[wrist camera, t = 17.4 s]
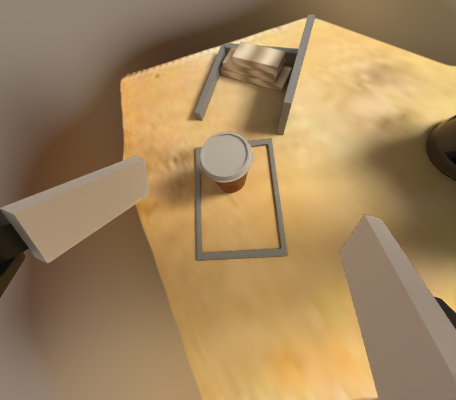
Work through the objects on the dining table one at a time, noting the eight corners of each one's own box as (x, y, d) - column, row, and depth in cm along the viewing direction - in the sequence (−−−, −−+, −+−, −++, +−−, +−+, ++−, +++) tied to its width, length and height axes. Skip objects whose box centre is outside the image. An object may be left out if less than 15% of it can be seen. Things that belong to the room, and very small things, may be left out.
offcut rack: (303, 61, 48) (315, 14, 38) (283, 134, 43) (291, 103, 34) (222, 53, 52) (216, 10, 43) (197, 119, 48) (183, 87, 38)
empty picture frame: (196, 260, 38) (195, 138, 46) (198, 260, 40) (196, 141, 47) (287, 256, 36) (270, 128, 44) (286, 255, 37) (269, 132, 45)
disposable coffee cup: (259, 170, 41) (262, 140, 30) (240, 206, 40) (236, 188, 28) (223, 155, 43) (214, 121, 32) (204, 188, 42) (187, 165, 30)
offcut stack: (290, 75, 48) (295, 51, 42) (281, 92, 47) (285, 70, 41) (230, 60, 52) (227, 37, 46) (221, 76, 51) (217, 54, 45)
